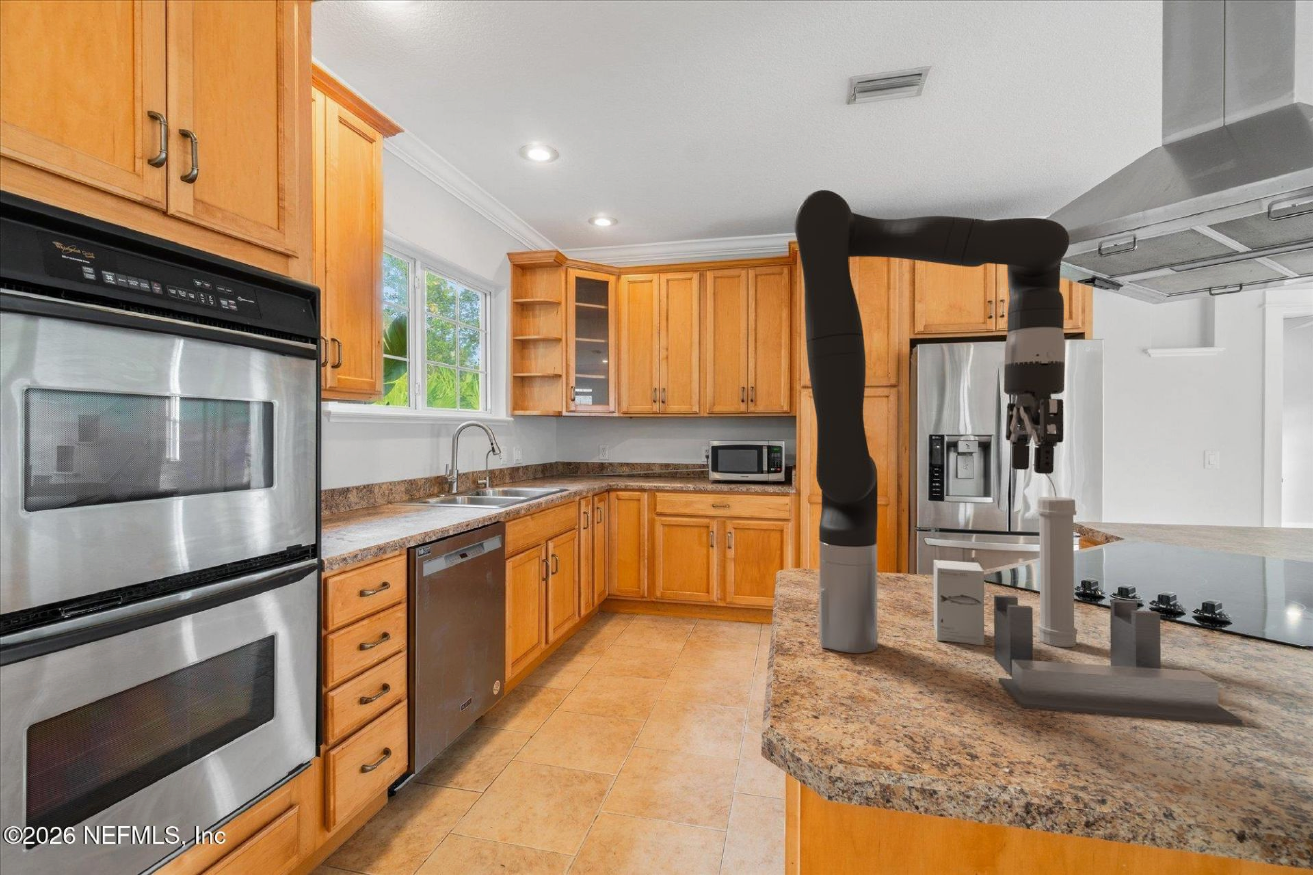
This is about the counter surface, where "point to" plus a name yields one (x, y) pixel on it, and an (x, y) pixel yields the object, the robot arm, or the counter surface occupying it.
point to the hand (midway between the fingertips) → (1031, 471)
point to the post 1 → (1012, 631)
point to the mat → (1120, 708)
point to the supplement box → (959, 602)
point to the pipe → (1056, 570)
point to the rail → (1115, 684)
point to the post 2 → (1134, 636)
